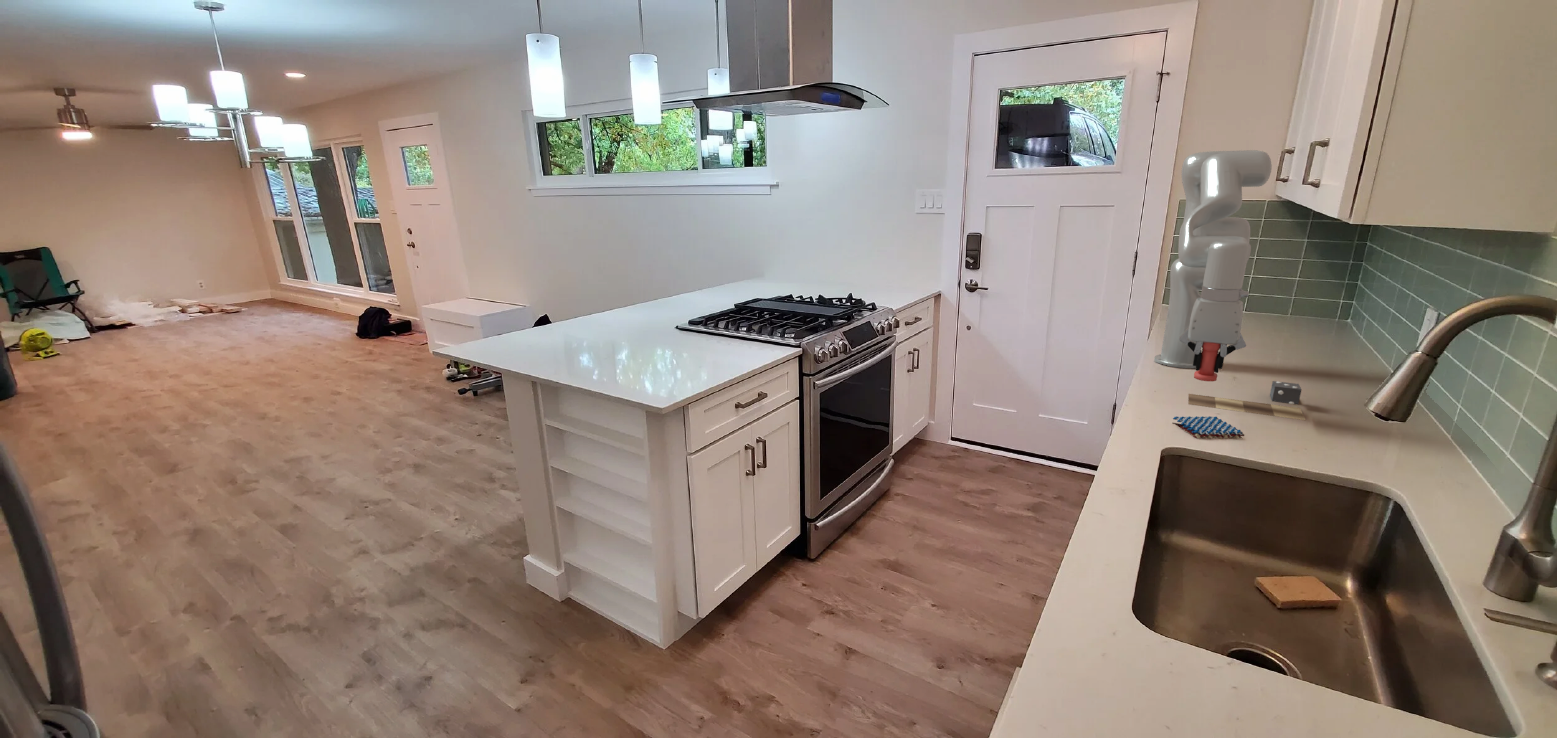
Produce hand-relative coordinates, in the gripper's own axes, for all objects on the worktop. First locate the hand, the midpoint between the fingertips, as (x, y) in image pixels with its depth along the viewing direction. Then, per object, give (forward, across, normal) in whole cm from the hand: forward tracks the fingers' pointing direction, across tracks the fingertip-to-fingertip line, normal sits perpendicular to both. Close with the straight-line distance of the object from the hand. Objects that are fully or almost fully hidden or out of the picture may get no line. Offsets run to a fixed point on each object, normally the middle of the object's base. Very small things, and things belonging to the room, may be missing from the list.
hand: (1206, 369), depth 151 cm
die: (+9, -17, -9) cm, 21 cm away
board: (+9, -8, +1) cm, 12 cm away
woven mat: (+9, -1, +19) cm, 21 cm away
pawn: (+2, 0, 0) cm, 2 cm away
